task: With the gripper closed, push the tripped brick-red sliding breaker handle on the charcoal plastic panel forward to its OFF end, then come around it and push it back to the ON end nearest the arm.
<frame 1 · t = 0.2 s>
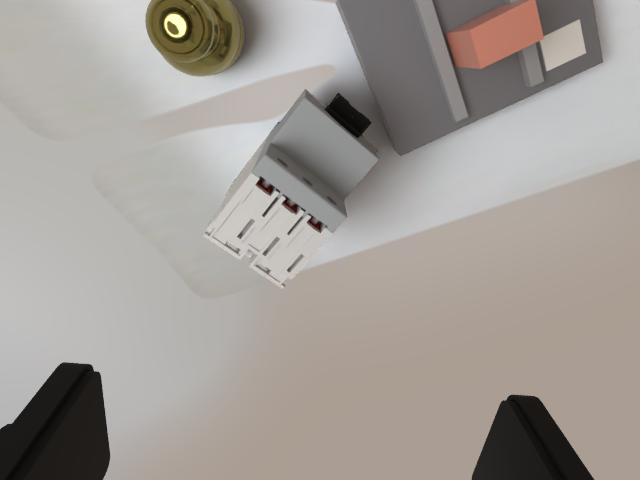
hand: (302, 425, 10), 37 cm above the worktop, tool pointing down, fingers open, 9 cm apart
breaker panel: (463, 33, 40), on the worktop
breaker handle: (491, 35, 34), point 6 cm above the worktop, slide at 5.0 cm
brass knob: (206, 32, 39), on the worktop
circuit breaker: (301, 152, 44), on the worktop
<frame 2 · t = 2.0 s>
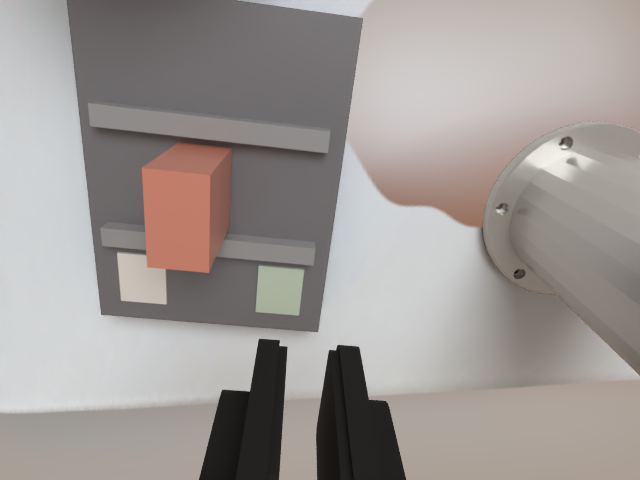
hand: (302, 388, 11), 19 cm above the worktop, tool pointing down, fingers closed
breaker panel: (223, 173, 28), on the worktop
breaker handle: (193, 202, 22), point 6 cm above the worktop, slide at 5.0 cm
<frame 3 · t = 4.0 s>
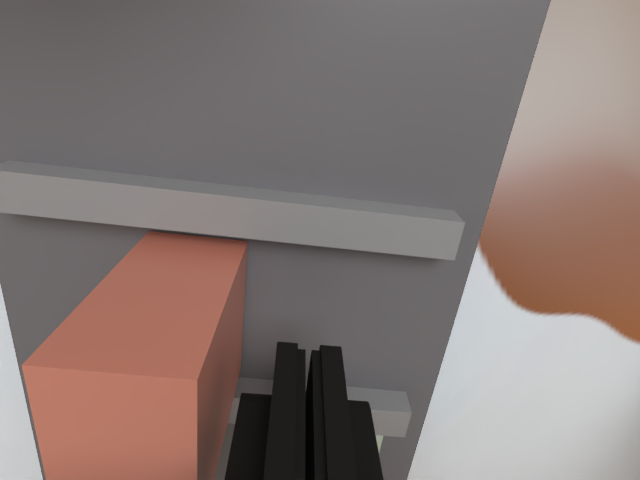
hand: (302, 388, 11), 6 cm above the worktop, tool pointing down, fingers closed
breaker panel: (246, 265, 17), on the worktop
breaker handle: (169, 367, 11), point 6 cm above the worktop, slide at 5.6 cm, touching gripper
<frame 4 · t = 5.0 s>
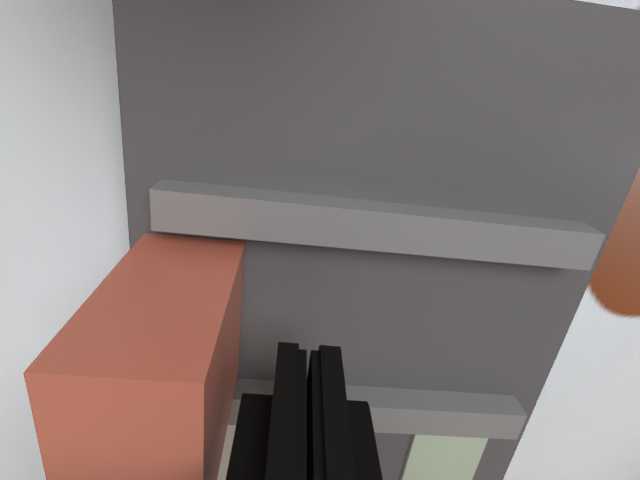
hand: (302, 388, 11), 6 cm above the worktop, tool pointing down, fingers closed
breaker panel: (350, 275, 17), on the worktop
breaker handle: (169, 370, 11), point 6 cm above the worktop, slide at 10.0 cm, touching gripper
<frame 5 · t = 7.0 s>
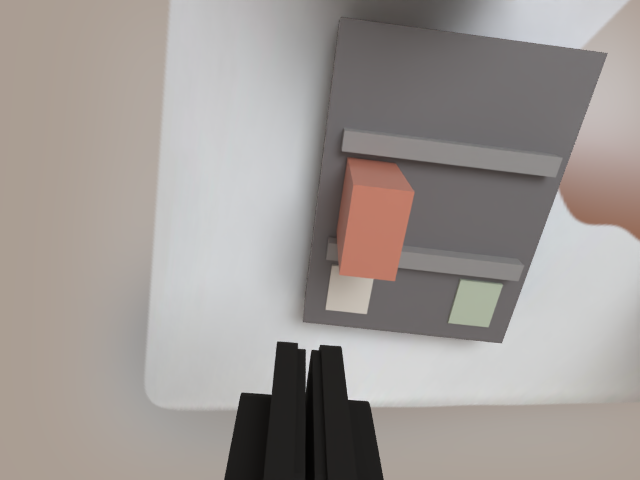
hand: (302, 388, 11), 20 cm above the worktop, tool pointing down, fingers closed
breaker panel: (424, 192, 30), on the worktop
breaker handle: (369, 214, 24), point 6 cm above the worktop, slide at 9.0 cm
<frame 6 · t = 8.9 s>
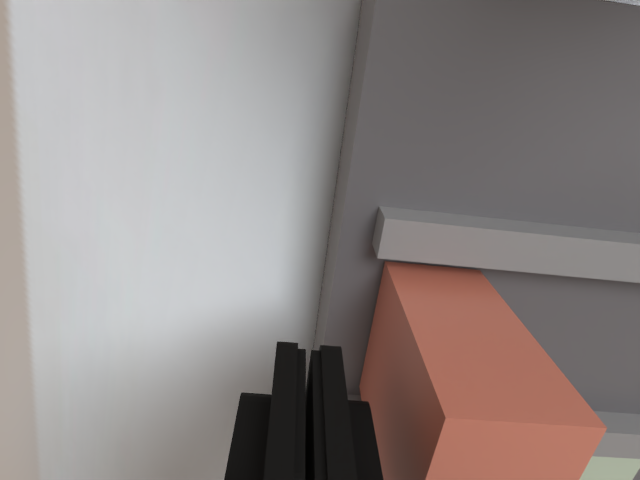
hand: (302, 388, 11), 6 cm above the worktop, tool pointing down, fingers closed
breaker panel: (504, 294, 17), on the worktop
breaker handle: (442, 400, 11), point 6 cm above the worktop, slide at 9.0 cm, touching gripper
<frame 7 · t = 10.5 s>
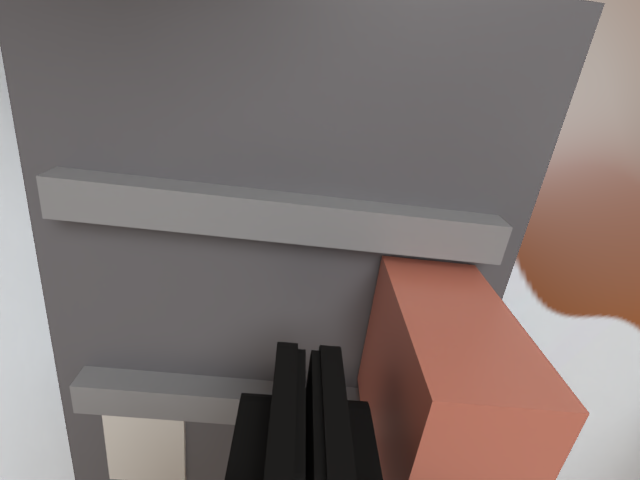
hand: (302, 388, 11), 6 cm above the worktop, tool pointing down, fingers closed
breaker panel: (280, 269, 17), on the worktop
breaker handle: (436, 390, 11), point 6 cm above the worktop, slide at -0.2 cm, touching gripper
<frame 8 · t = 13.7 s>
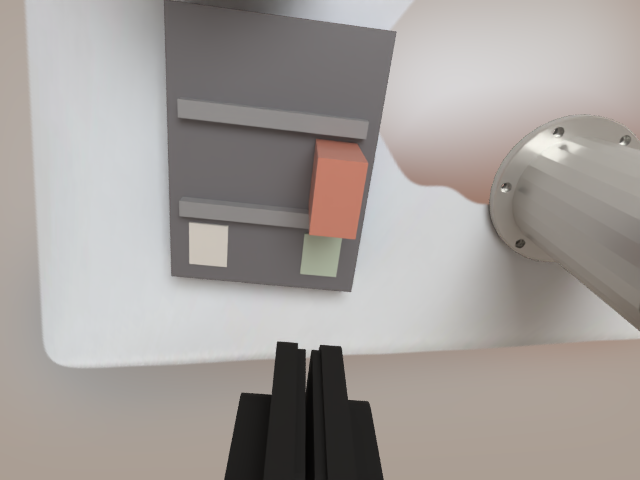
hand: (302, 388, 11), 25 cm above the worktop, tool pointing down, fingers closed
breaker panel: (274, 158, 34), on the worktop
breaker handle: (334, 186, 28), point 6 cm above the worktop, slide at 0.0 cm
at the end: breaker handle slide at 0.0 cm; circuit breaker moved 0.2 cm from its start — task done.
